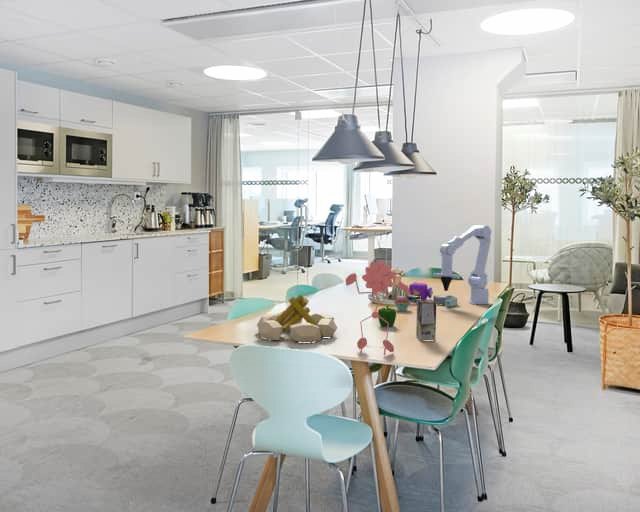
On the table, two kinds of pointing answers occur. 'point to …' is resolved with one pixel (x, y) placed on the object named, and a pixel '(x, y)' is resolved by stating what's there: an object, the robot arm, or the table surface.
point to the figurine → (377, 280)
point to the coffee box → (426, 320)
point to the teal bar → (451, 302)
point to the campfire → (297, 323)
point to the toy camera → (420, 290)
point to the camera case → (442, 299)
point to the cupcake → (402, 303)
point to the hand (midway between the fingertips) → (446, 290)
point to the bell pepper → (387, 316)
